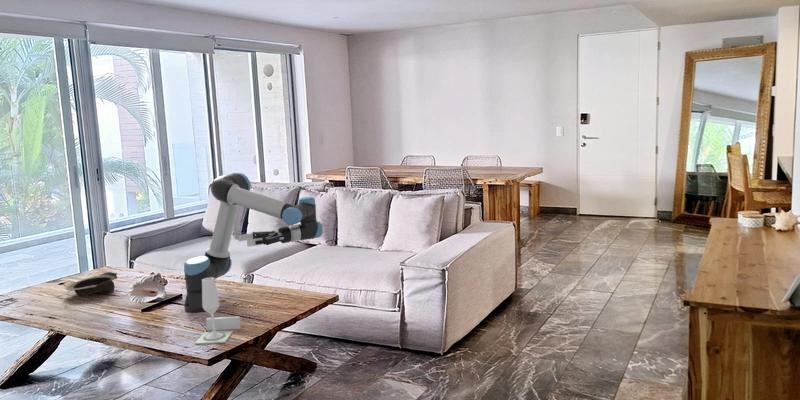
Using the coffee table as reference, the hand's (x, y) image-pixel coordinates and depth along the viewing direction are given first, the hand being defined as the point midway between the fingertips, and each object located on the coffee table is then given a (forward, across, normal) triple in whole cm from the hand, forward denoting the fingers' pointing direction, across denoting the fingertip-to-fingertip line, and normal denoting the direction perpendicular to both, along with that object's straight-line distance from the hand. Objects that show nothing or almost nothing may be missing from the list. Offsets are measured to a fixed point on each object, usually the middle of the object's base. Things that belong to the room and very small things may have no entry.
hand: (242, 240), depth 265 cm
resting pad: (+19, -17, -35) cm, 43 cm away
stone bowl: (+56, +92, -36) cm, 114 cm away
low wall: (+13, -8, -35) cm, 38 cm away
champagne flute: (+19, -17, -34) cm, 42 cm away
